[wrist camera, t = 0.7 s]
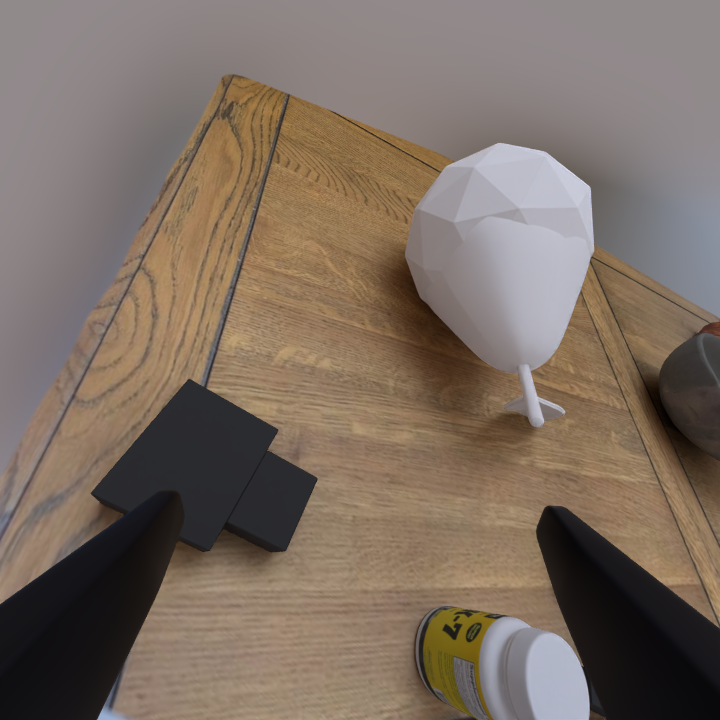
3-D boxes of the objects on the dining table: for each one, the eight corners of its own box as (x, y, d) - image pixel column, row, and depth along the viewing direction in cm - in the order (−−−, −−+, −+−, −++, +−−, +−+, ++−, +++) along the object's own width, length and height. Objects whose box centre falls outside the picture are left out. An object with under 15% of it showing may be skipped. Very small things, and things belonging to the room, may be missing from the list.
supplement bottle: (458, 595, 24) (566, 608, 18) (482, 679, 22) (613, 729, 16) (404, 619, 22) (506, 644, 15) (425, 716, 20) (551, 791, 13)
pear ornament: (560, 63, 28) (750, 346, 14) (563, 254, 45) (650, 470, 31) (380, 155, 35) (381, 410, 20) (441, 291, 52) (466, 482, 37)
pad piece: (259, 579, 19) (272, 581, 17) (99, 502, 18) (89, 493, 15) (311, 467, 24) (327, 457, 21) (186, 397, 22) (188, 378, 20)
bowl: (731, 453, 56) (821, 436, 49) (707, 512, 45) (821, 502, 37) (651, 349, 62) (721, 319, 54) (612, 377, 50) (694, 343, 42)
